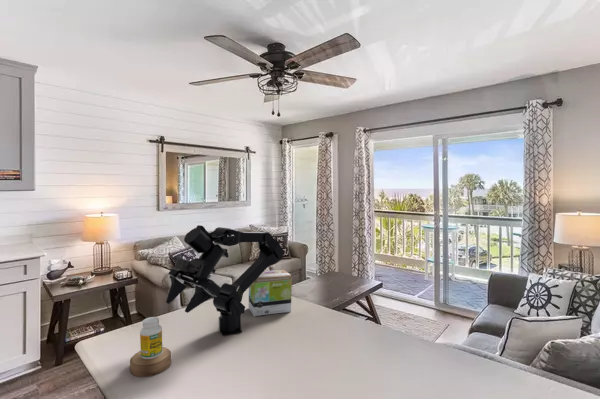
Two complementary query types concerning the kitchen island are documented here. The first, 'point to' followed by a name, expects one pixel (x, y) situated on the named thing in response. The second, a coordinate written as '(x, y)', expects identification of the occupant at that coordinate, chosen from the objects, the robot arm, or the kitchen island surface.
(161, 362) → the pedestal
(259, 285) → the tea box
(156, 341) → the supplement bottle
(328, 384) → the kitchen island surface
